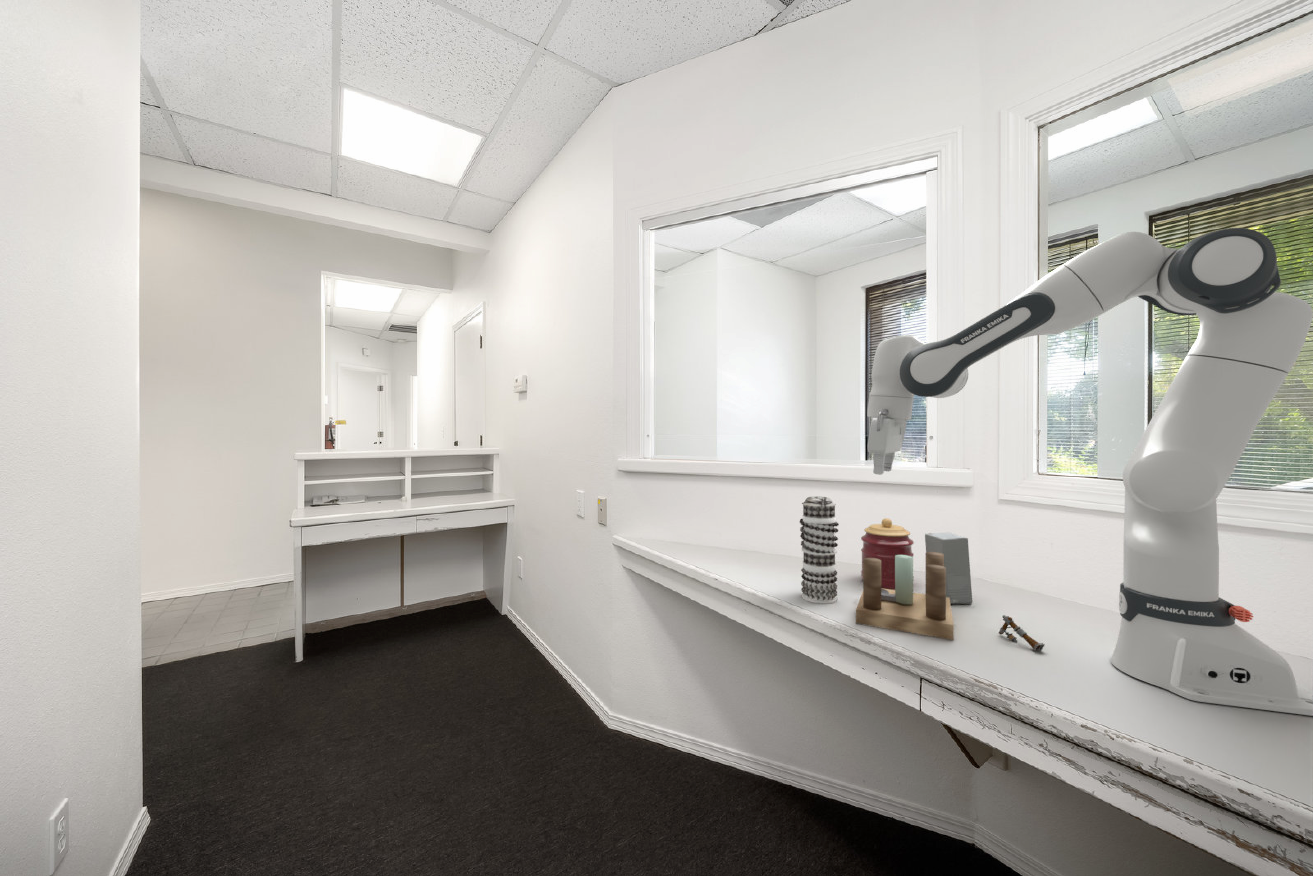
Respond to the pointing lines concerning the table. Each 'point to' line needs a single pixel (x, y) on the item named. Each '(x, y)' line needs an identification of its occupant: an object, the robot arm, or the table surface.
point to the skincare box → (953, 564)
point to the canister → (886, 548)
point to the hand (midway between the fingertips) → (882, 472)
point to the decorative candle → (819, 550)
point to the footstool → (920, 617)
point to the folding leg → (902, 581)
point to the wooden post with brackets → (1020, 632)
